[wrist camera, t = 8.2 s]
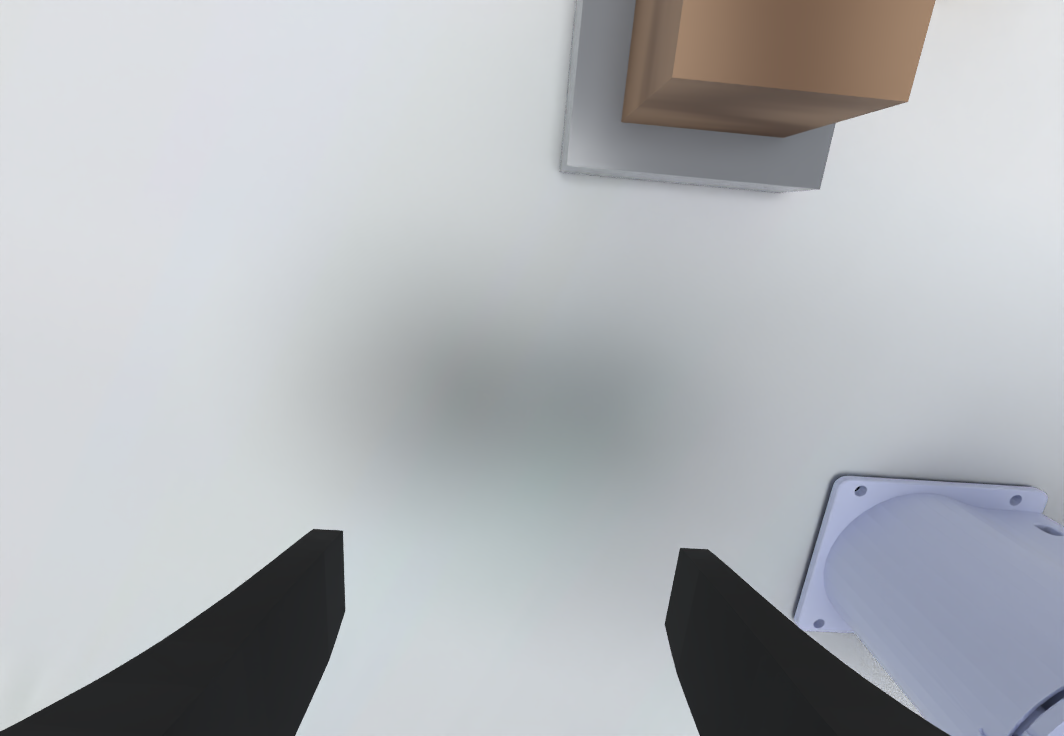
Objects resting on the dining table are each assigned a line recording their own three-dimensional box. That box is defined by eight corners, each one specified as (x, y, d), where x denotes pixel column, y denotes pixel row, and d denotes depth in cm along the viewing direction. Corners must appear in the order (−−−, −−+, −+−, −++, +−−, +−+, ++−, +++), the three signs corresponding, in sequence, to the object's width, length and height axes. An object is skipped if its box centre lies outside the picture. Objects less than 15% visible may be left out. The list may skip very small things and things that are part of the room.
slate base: (837, -76, 16) (895, -128, 13) (778, 192, 18) (819, 189, 16) (586, -108, 15) (599, -167, 13) (559, 172, 17) (566, 165, 15)
